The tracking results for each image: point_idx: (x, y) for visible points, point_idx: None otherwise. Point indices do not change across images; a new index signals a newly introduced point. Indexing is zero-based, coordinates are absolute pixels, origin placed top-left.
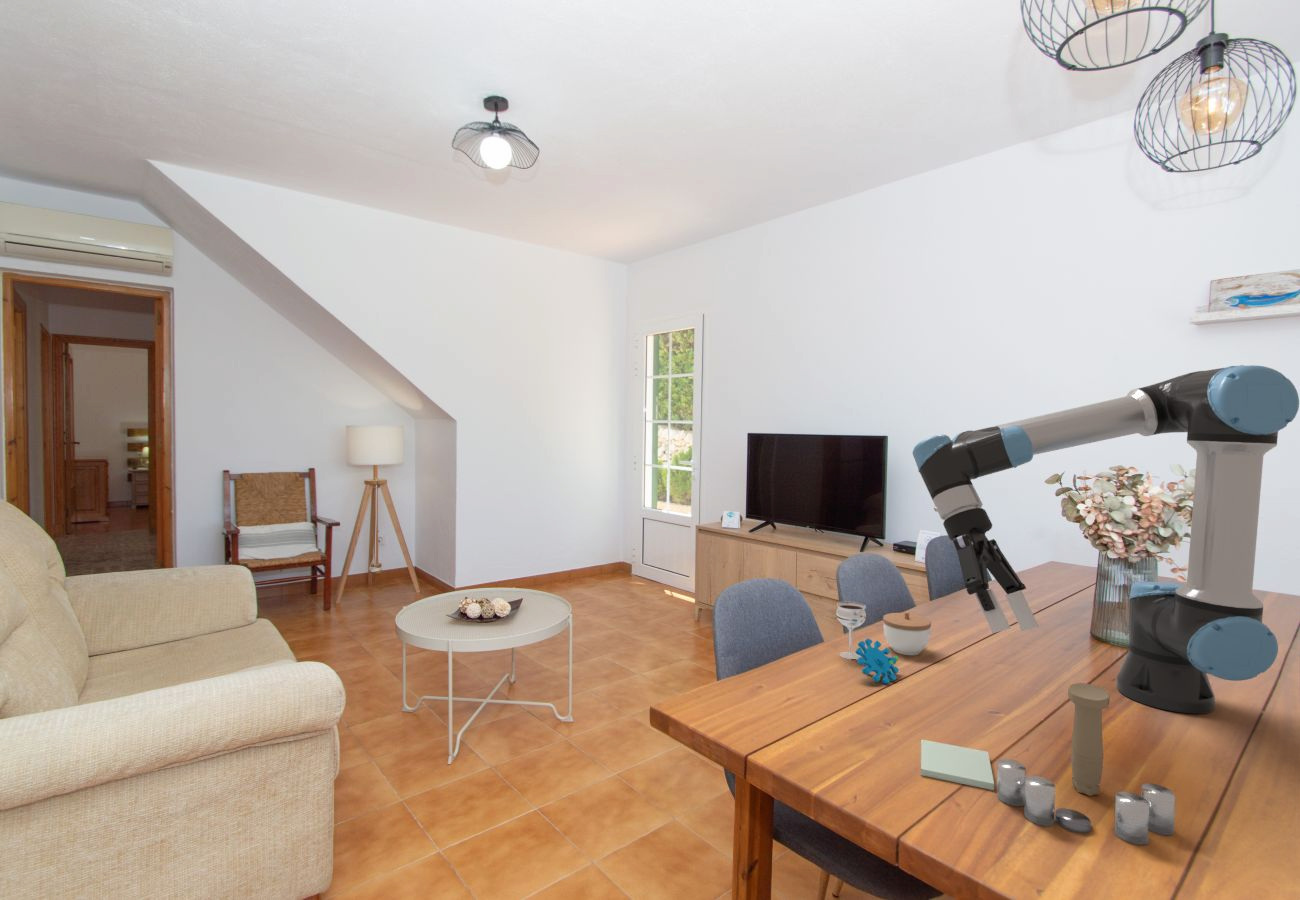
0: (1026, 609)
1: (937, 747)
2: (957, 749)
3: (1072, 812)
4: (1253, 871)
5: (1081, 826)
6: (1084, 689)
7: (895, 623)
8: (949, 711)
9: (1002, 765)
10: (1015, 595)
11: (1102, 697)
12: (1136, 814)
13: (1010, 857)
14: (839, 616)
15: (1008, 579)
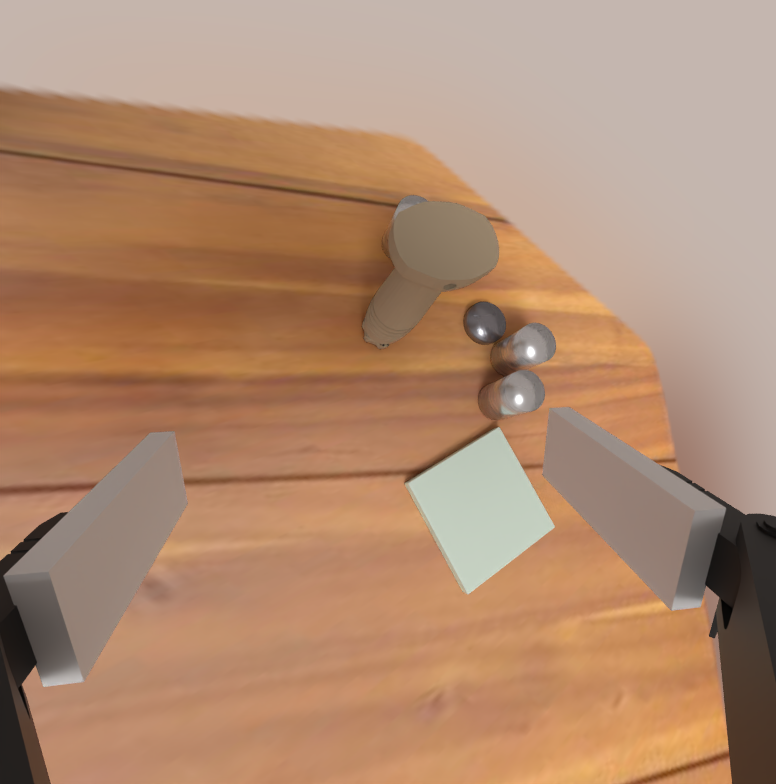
0: (135, 493)
1: (470, 553)
2: (446, 525)
3: (476, 324)
4: (407, 161)
5: (498, 308)
6: (443, 249)
7: None
8: (250, 664)
9: (538, 400)
10: (78, 595)
11: (460, 211)
12: None
13: (602, 357)
14: None
15: (23, 721)
